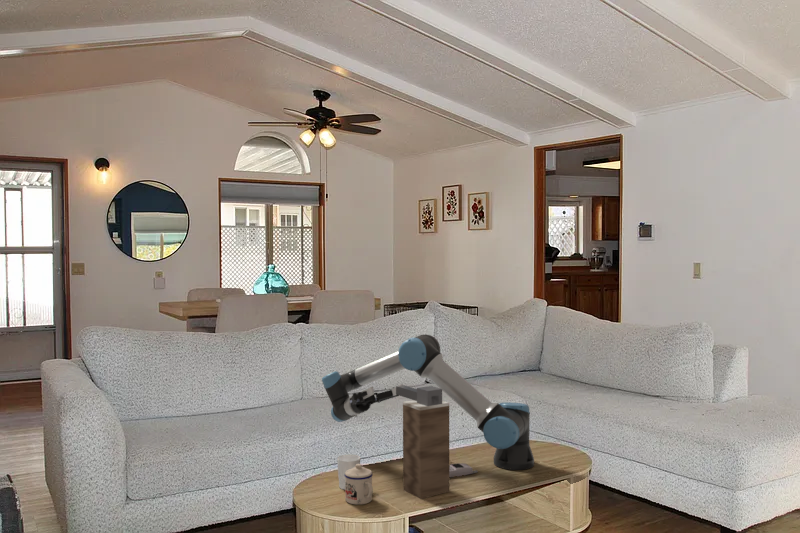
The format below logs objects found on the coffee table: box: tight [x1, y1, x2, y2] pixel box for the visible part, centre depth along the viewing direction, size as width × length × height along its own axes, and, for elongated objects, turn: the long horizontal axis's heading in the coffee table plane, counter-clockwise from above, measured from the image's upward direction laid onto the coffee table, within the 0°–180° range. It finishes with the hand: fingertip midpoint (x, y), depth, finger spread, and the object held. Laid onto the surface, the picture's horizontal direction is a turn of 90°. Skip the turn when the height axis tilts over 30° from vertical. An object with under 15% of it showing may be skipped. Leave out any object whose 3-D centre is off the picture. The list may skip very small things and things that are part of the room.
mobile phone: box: [449, 462, 478, 478], centre depth 249 cm, size 6×6×25 cm
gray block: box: [395, 384, 443, 406], centre depth 237 cm, size 21×6×5 cm, turn 34°
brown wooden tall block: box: [402, 399, 450, 500], centre depth 233 cm, size 10×12×30 cm
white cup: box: [336, 454, 361, 491], centre depth 238 cm, size 8×8×10 cm
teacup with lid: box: [344, 463, 374, 506], centre depth 224 cm, size 12×9×12 cm
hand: (388, 389), depth 253 cm, fingers open, 13 cm apart
